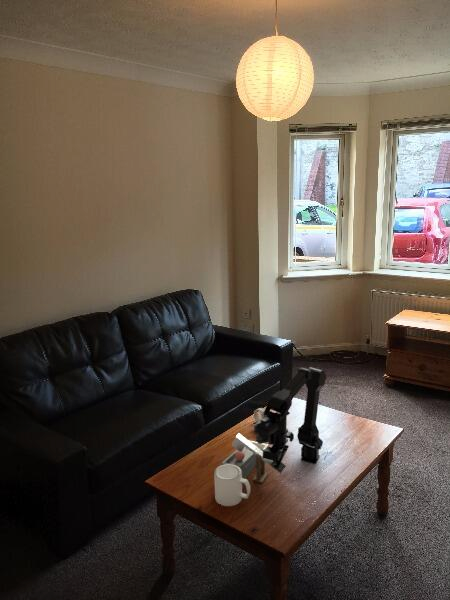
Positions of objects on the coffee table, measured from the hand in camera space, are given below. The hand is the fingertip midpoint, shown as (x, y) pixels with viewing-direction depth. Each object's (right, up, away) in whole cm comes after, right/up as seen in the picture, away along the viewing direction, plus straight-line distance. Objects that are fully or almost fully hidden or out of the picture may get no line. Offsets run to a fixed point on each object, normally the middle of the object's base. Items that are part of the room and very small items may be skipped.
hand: (278, 464), depth 184 cm
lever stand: (-7, -7, +5) cm, 11 cm away
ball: (-15, +1, +8) cm, 17 cm away
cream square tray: (-8, -3, +21) cm, 23 cm away
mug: (-18, -10, -7) cm, 22 cm away
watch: (-3, +1, +42) cm, 42 cm away
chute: (-14, -6, +9) cm, 18 cm away
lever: (-9, 0, +5) cm, 10 cm away
